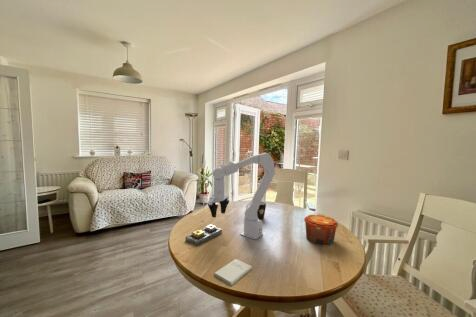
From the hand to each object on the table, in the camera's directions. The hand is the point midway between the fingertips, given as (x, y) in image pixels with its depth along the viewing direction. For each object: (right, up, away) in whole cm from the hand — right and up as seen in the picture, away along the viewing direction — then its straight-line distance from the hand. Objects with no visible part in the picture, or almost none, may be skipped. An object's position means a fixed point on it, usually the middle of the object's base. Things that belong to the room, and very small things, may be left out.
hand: (218, 215), depth 110 cm
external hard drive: (+9, -13, -33) cm, 37 cm away
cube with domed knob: (-4, -9, -2) cm, 10 cm away
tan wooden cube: (-9, -10, -9) cm, 16 cm away
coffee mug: (+23, -9, +24) cm, 34 cm away
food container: (+52, -12, -5) cm, 54 cm away
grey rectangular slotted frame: (-7, -10, -5) cm, 13 cm away
